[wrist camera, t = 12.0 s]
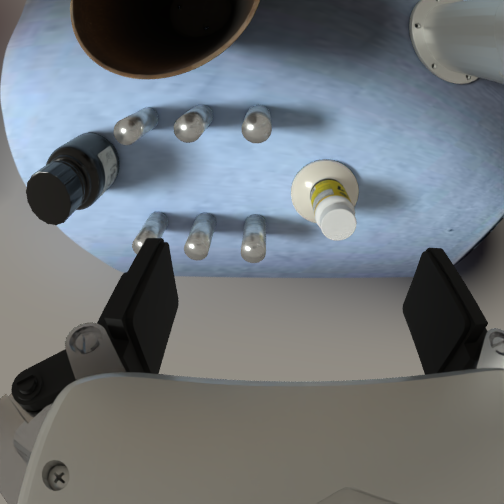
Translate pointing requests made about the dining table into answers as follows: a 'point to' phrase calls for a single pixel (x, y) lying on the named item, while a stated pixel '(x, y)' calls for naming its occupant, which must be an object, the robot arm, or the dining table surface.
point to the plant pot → (158, 33)
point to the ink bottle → (73, 178)
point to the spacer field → (203, 228)
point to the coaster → (312, 175)
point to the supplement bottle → (333, 209)
